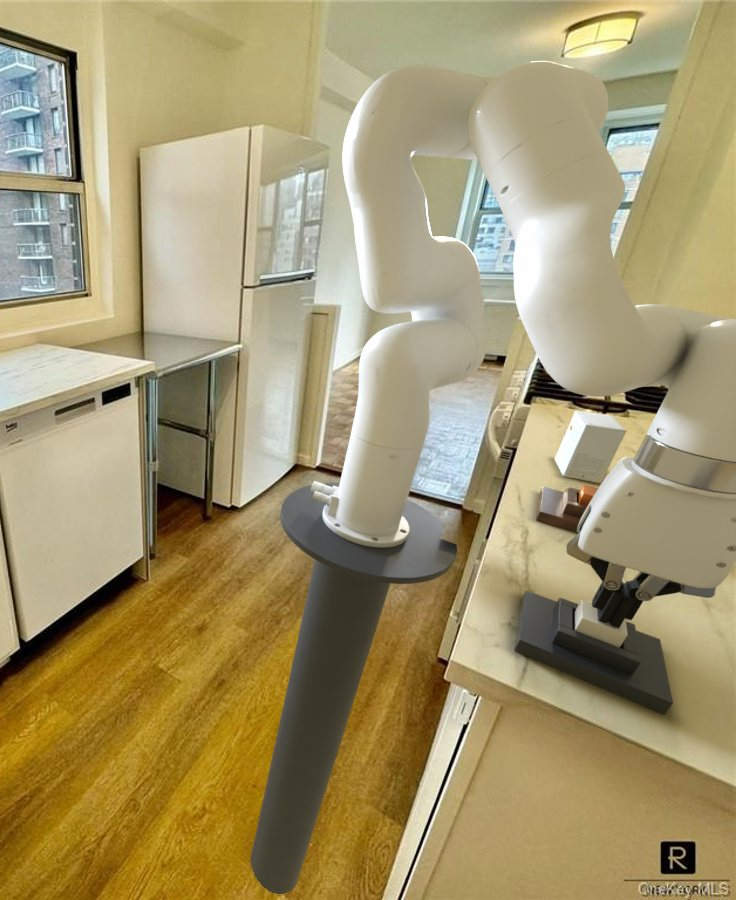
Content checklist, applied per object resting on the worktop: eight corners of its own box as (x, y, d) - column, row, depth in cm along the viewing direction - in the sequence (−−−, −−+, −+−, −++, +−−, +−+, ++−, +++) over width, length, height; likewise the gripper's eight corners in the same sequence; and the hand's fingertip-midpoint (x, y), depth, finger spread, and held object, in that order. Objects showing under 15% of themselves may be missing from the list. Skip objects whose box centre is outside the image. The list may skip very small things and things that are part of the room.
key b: (578, 504, 75) (583, 493, 74) (578, 495, 77) (583, 484, 76) (608, 513, 73) (615, 501, 72) (607, 503, 75) (613, 491, 74)
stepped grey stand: (514, 650, 53) (525, 627, 52) (520, 600, 60) (531, 578, 59) (664, 715, 47) (683, 690, 45) (652, 650, 54) (668, 627, 52)
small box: (600, 484, 86) (628, 431, 82) (561, 476, 89) (585, 424, 84) (589, 466, 93) (614, 415, 88) (553, 459, 95) (575, 409, 90)
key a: (574, 631, 52) (582, 617, 51) (574, 612, 54) (581, 599, 54) (618, 649, 50) (627, 634, 49) (616, 628, 52) (625, 614, 52)
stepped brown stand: (535, 520, 76) (544, 501, 75) (539, 494, 83) (546, 477, 82) (639, 551, 69) (651, 531, 68) (633, 520, 76) (643, 501, 75)
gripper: (812, 473, 41) (702, 630, 49) (585, 429, 50) (522, 569, 58) (847, 510, 36) (717, 679, 44) (586, 454, 45) (518, 604, 53)
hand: (607, 616), depth 51 cm, fingers closed
